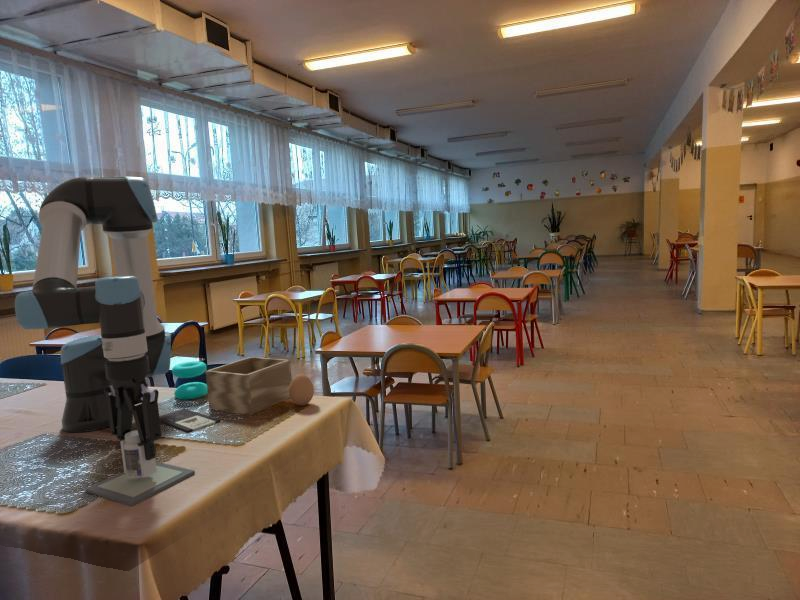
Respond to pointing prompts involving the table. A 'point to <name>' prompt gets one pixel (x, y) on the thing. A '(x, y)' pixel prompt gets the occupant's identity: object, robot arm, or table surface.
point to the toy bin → (248, 384)
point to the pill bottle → (132, 455)
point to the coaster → (139, 484)
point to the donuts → (189, 371)
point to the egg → (301, 390)
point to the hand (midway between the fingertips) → (140, 472)
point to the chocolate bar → (187, 420)
